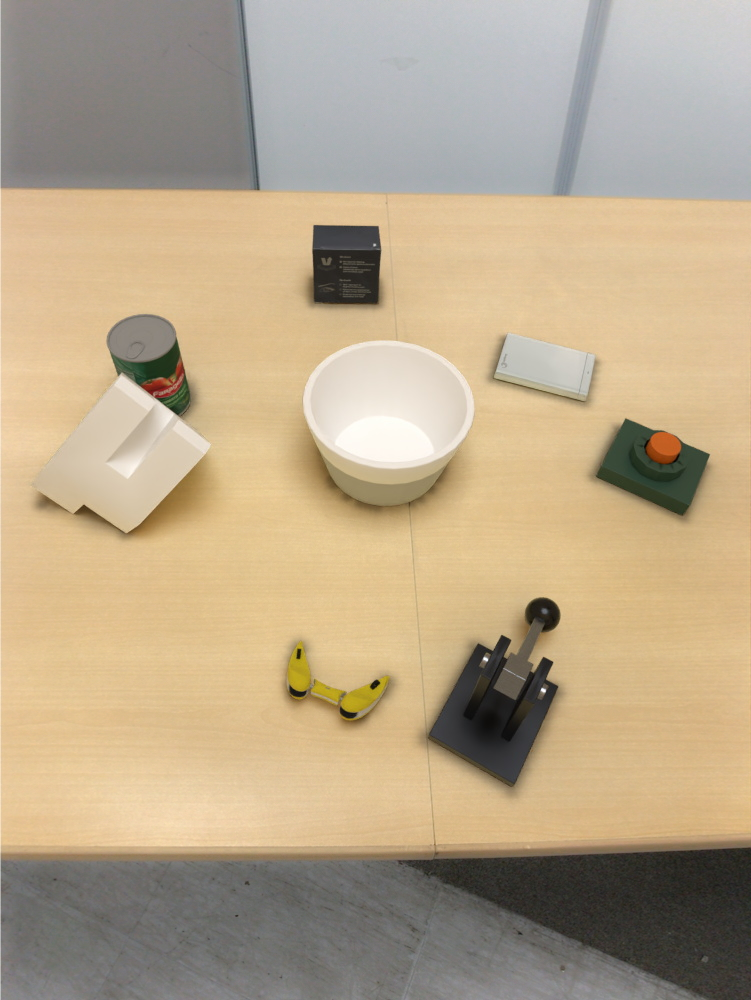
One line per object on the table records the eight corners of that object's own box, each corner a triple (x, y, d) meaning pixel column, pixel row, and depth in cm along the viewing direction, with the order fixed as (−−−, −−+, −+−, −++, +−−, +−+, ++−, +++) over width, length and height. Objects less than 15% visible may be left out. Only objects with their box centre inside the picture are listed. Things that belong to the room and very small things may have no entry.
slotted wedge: (113, 541, 86) (174, 500, 73) (29, 484, 82) (77, 429, 69) (173, 455, 94) (238, 403, 80) (98, 399, 90) (154, 334, 76)
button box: (703, 464, 93) (716, 444, 90) (682, 515, 88) (696, 496, 85) (620, 429, 96) (630, 408, 92) (595, 476, 91) (605, 456, 88)
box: (376, 279, 110) (380, 224, 102) (378, 305, 107) (381, 249, 99) (314, 278, 110) (312, 222, 102) (313, 304, 106) (312, 248, 99)
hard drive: (495, 370, 98) (588, 394, 97) (507, 330, 103) (596, 352, 101) (493, 379, 100) (584, 403, 98) (505, 339, 104) (593, 361, 102)
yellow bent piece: (270, 700, 72) (273, 676, 70) (296, 657, 77) (301, 634, 75) (364, 740, 70) (371, 716, 68) (385, 693, 75) (392, 670, 74)
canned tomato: (142, 373, 97) (122, 307, 88) (199, 384, 97) (186, 319, 88) (118, 418, 93) (94, 353, 84) (178, 429, 92) (161, 366, 83)
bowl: (389, 554, 83) (396, 500, 74) (272, 459, 90) (265, 399, 81) (492, 458, 92) (509, 399, 83) (378, 378, 99) (383, 316, 90)
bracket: (476, 647, 77) (496, 595, 68) (556, 690, 75) (589, 642, 65) (427, 738, 72) (442, 695, 62) (512, 787, 69) (541, 751, 60)
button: (679, 448, 89) (685, 439, 88) (670, 469, 88) (676, 460, 86) (650, 436, 90) (656, 427, 89) (641, 456, 88) (646, 447, 87)
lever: (523, 612, 78) (537, 585, 77) (555, 628, 77) (569, 601, 76) (483, 689, 65) (498, 658, 64) (520, 709, 64) (536, 679, 63)
